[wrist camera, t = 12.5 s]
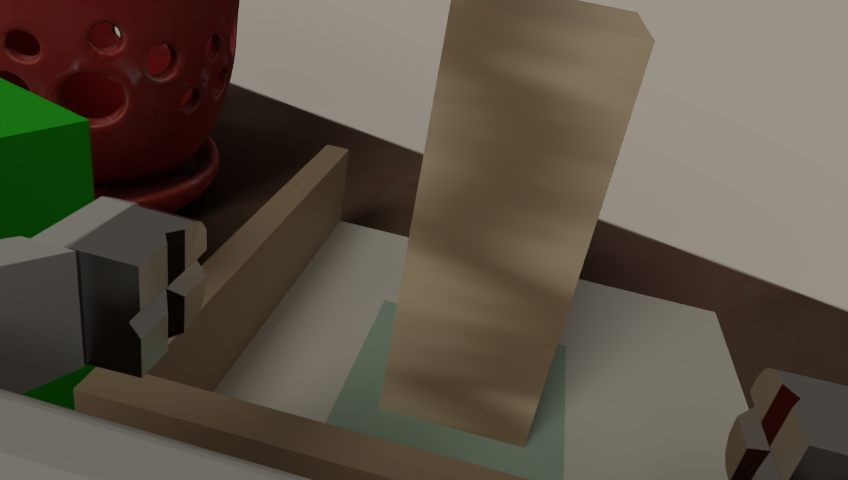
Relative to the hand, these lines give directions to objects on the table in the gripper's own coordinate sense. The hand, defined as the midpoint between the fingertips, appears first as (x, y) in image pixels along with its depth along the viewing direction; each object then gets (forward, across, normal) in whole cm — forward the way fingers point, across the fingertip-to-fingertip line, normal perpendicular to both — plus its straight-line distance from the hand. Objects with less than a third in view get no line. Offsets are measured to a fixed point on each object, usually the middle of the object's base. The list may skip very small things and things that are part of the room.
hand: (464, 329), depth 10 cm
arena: (+10, -1, +10) cm, 14 cm away
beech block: (+10, 0, +9) cm, 13 cm away
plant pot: (+18, +19, +10) cm, 28 cm away
